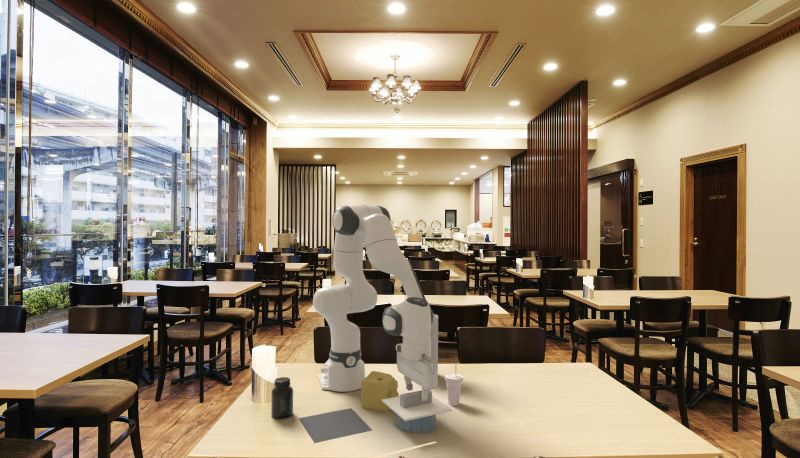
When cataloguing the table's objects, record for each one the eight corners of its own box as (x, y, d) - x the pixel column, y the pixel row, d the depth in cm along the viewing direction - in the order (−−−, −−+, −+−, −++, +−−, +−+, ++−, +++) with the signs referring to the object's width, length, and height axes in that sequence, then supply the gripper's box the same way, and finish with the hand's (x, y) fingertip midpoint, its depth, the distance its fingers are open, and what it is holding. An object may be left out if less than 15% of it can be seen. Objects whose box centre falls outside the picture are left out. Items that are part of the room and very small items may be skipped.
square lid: (382, 401, 145) (382, 388, 145) (425, 393, 152) (425, 381, 152) (405, 421, 130) (405, 407, 130) (451, 411, 138) (451, 397, 138)
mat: (298, 419, 144) (298, 418, 144) (351, 409, 153) (351, 408, 153) (314, 444, 128) (314, 442, 128) (372, 431, 137) (372, 430, 137)
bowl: (391, 421, 144) (391, 402, 144) (423, 414, 149) (423, 396, 149) (408, 437, 133) (408, 417, 133) (442, 429, 139) (442, 409, 139)
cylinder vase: (418, 369, 195) (418, 311, 194) (443, 375, 187) (443, 315, 187) (401, 377, 185) (401, 316, 184) (427, 384, 177) (427, 320, 177)
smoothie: (462, 408, 155) (462, 367, 154) (443, 406, 156) (443, 366, 156) (463, 400, 161) (463, 361, 161) (445, 399, 162) (445, 360, 162)
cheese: (398, 401, 160) (399, 373, 160) (388, 414, 150) (388, 384, 149) (371, 398, 163) (371, 370, 163) (359, 409, 153) (359, 380, 153)
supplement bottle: (270, 413, 149) (270, 377, 149) (291, 410, 152) (291, 374, 151) (272, 422, 143) (273, 384, 142) (294, 418, 145) (294, 381, 145)
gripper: (443, 358, 133) (442, 405, 133) (410, 341, 151) (410, 382, 151) (424, 361, 130) (424, 408, 130) (393, 343, 148) (393, 385, 149)
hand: (416, 394), depth 141 cm, fingers open, 8 cm apart
